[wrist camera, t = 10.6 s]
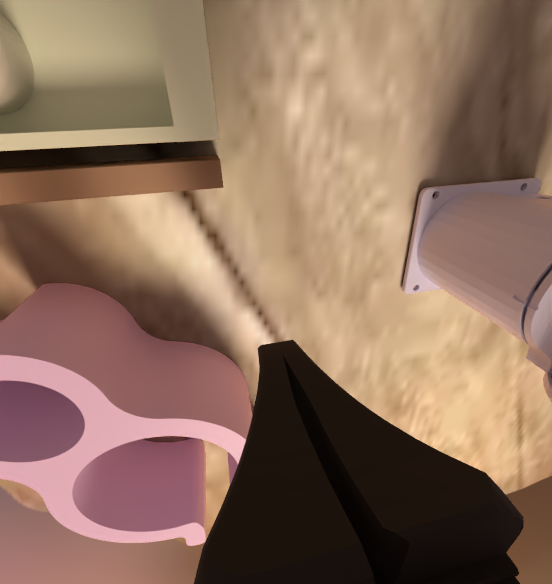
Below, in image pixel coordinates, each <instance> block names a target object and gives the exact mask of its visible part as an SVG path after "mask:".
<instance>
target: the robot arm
mask: <svg viewBox="0 0 552 584" xmlns="http://www.w3.org/2000/svg"><path fill="white" fill-rule="evenodd" d="M540 187H541V180H540V179H539V178H526V179H515V180H503V181H492V182H481V183H470V184H459V185H447V186H436V187H427V188H424V189H423V190H422V191H421V192H420V195H419V199H418V204H417V210H416V215H415V221H414V226H413V231H412V237H411V242H410V248H409V253H408V259H407V264H406V269H405V275H404V280H403V286H402V290H403V292H405V293H406V294H413V293H419V292H426V291H432V290H439V289H443V290H445V291H446V292H448V293H449V294H451V295H452V296H454V297H455V298H457V299H458V300H460V301H461V302H463V303H465V304H466V305H468V306H469V307H471V308H472V309H474V310H475V311H477V312H478V313H480V314H481V315H483V316H484V317H486V318H488V319H489V320H491V321H492V322H494V323H495V324H497V325H498V326H500V327H501V328H503V329H504V330H506V331H508V332H509V333H511V334H512V335H514V336H515V337H517V338H518V339H520V340H521V341H523V342H524V343H526V344H528V345H529V350H528V353H527V356H526V358H527V359H528V360H530V361H531V362H532V363H534V364H535V365H537V366H538V367H540V368H541V369H542V370H544V371H545V375H544V378H543V382H544V388H545V391H546V393H547V395H548V397H549V398H550V400H551V401H552V196H548V195H542V194H538V192H539V189H540ZM434 192H435V196H434V197H433V198H432V195H433V193H434ZM415 285H416V287H415V288H414V286H415ZM258 355H259V366H260V372H259V382H258V390H257V396H256V401H255V406H254V411H253V416H252V420H251V424H250V428H249V431H248V435H247V438H246V442H245V445H244V448H243V451H242V454H241V457H240V460H239V463H238V466H237V469H236V472H235V474H234V477H233V479H232V482H231V484H230V487H229V489H228V492H227V495H226V497H225V500H224V502H223V504H222V507H221V509H220V511H219V514H218V516H217V518H216V520H215V522H214V524H213V527H212V529H211V531H210V533H209V535H208V538H207V540H206V542H205V544H204V546H203V549H202V554H201V558H200V561H199V565H198V569H197V573H196V578H195V582H194V584H520V583H519V581H518V580H517V579H516V578H515V576H517V575H518V574H519V572H518V569H517V567H516V566H515V564H514V563H513V562H512V560H511V559H510V557H509V556H508V555H507V553H506V552H507V551H508V549H509V548H510V546H511V545H512V544H513V542H514V541H515V540H516V538H517V537H518V536H519V534H520V532H521V531H522V529H523V516H522V515H521V513H520V512H519V511H518V510H517V509H516V508H515V506H514V505H513V504H512V502H511V501H510V500H509V499H508V497H507V496H506V495H505V494H504V493H503V491H502V490H501V489H500V488H499V487H498V486H497V485H496V484H495V483H494V481H493V480H492V479H491V478H490V477H489V476H488V475H487V474H486V473H485V472H482V471H480V470H478V469H476V468H474V467H472V466H470V465H467V464H465V463H463V462H461V461H459V460H457V459H455V458H452V457H450V456H448V455H446V454H444V453H442V452H440V451H438V450H436V449H434V448H432V447H430V446H429V445H427V444H425V443H423V442H421V441H419V440H417V439H415V438H414V437H412V436H410V435H409V434H407V433H405V432H404V431H402V430H400V429H399V428H397V427H395V426H394V425H392V424H390V423H389V422H387V421H385V420H384V419H383V418H381V417H380V416H378V415H377V414H375V413H374V412H372V411H371V410H369V409H368V408H367V407H365V406H364V405H363V404H361V403H360V402H358V401H357V400H356V399H355V398H353V397H352V396H351V395H350V394H348V393H347V392H346V391H345V390H344V389H342V388H341V387H340V386H339V385H338V384H336V383H335V382H334V381H333V380H332V379H331V378H330V377H329V376H328V375H327V374H326V373H325V372H323V371H322V370H321V369H320V368H319V367H318V366H317V365H316V364H315V363H314V362H313V361H312V360H311V359H310V358H309V357H308V356H307V354H306V353H305V352H304V351H303V350H302V349H301V348H300V347H299V346H298V344H297V343H296V342H295V341H293V340H289V341H283V342H277V343H271V344H266V345H261V346H260V347H259V348H258Z"/></svg>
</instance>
